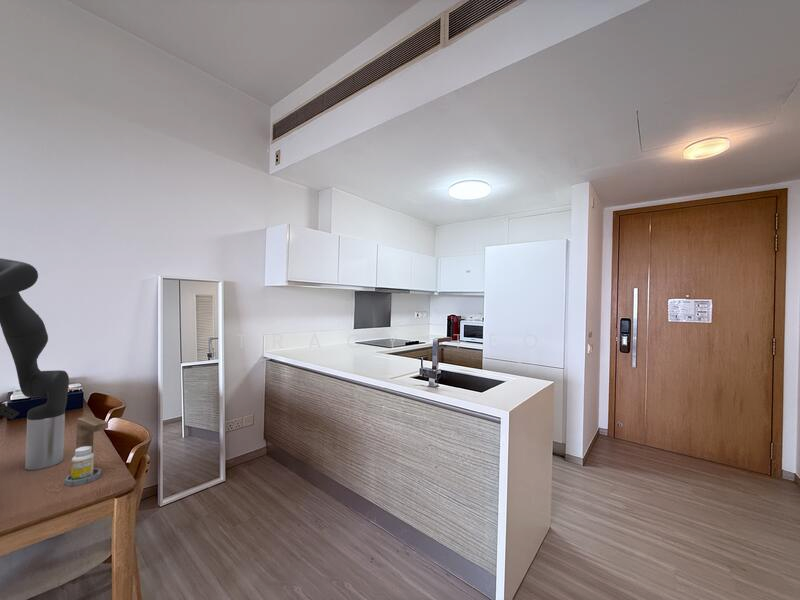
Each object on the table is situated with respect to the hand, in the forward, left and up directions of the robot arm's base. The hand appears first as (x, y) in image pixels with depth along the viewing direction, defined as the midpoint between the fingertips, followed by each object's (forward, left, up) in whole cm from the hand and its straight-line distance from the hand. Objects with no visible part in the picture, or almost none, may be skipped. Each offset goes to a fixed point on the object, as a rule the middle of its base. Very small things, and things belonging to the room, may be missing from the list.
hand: (10, 413), depth 94 cm
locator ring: (-7, +15, -26) cm, 31 cm away
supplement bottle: (-7, +14, -26) cm, 30 cm away
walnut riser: (-11, +16, -26) cm, 32 cm away
